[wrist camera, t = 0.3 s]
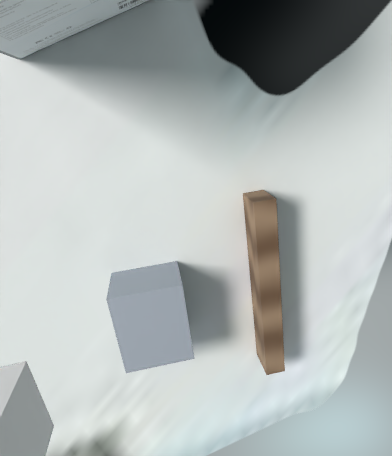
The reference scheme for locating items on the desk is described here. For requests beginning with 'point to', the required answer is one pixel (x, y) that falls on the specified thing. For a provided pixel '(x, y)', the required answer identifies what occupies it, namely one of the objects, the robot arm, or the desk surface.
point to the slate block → (150, 316)
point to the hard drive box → (51, 21)
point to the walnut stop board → (265, 278)
